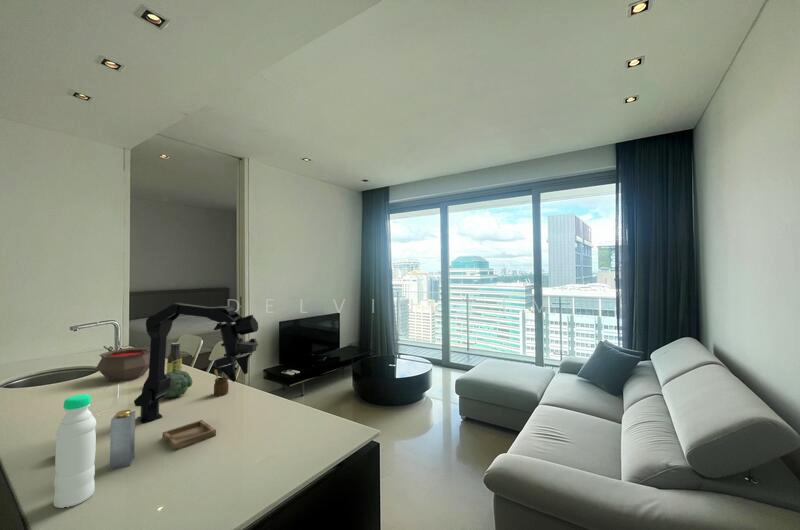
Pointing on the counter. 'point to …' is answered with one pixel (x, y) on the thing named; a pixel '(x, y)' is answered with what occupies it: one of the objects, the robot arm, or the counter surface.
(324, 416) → the counter surface
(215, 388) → the utensil holder
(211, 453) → the counter surface
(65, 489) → the white milk bottle
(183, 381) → the vegetable
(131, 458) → the grey tall block
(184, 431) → the tray
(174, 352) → the sauce bottle
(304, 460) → the counter surface
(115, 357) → the brown pot
